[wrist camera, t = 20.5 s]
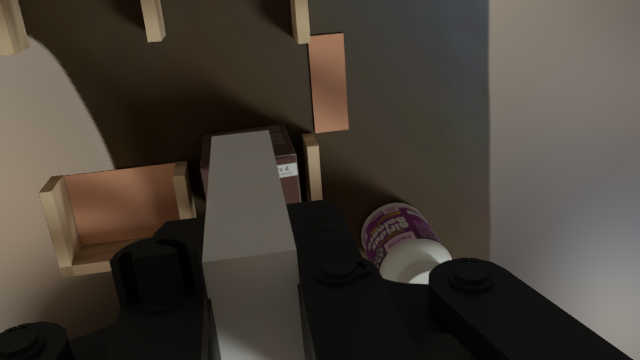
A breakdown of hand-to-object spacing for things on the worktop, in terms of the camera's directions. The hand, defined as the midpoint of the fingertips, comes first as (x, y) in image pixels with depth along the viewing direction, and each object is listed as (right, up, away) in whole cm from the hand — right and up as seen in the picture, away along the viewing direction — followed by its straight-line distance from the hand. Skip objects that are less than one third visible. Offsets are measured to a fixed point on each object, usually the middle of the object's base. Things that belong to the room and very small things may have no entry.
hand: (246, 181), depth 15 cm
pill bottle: (+8, -4, +31) cm, 32 cm away
